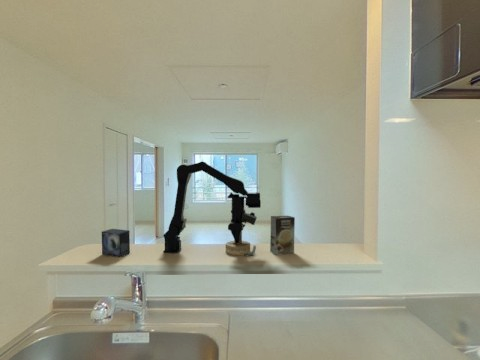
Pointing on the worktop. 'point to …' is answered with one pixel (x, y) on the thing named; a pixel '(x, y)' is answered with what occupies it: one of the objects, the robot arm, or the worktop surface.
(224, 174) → the robot arm
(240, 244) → the brown cylinder
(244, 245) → the bead
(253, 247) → the gray l-shaped bar
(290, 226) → the coffee box
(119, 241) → the small box
